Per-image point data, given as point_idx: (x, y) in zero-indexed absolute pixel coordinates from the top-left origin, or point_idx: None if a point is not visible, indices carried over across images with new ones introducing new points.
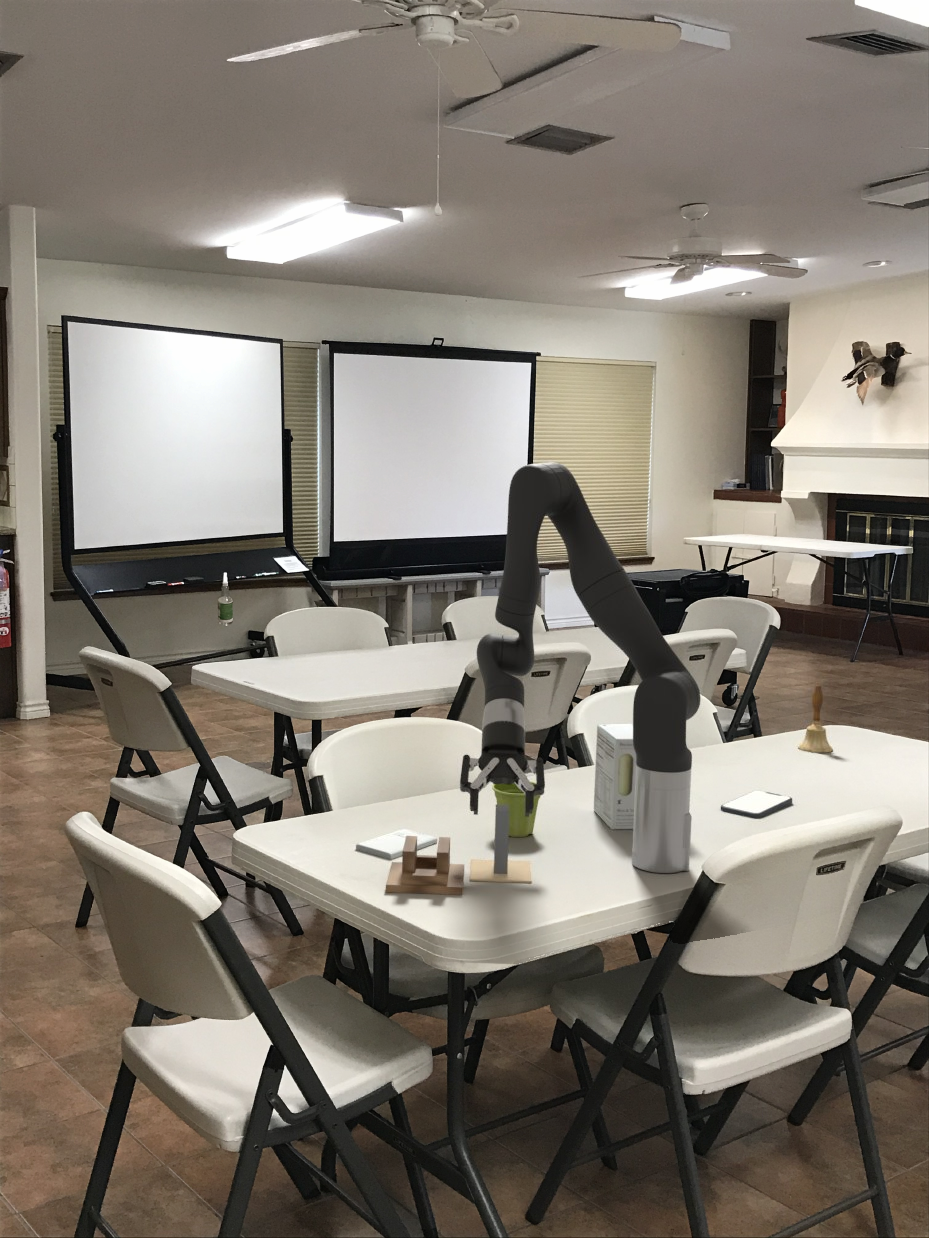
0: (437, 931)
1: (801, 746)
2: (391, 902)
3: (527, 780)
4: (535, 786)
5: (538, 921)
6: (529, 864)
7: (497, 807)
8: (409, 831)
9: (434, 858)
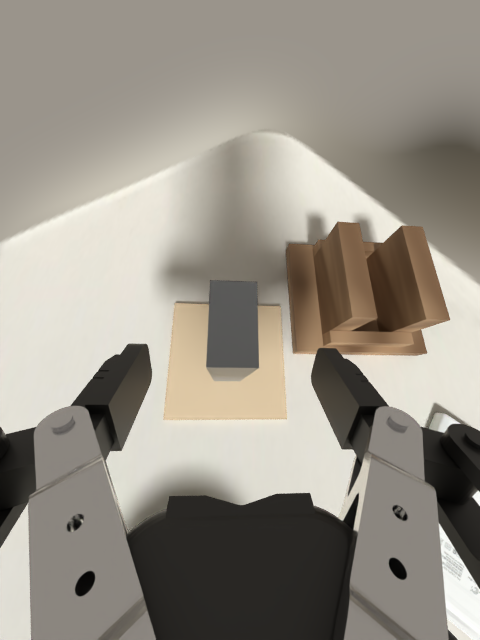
0: (302, 150)
1: None
2: (374, 223)
3: (48, 475)
4: (20, 455)
5: (183, 172)
6: (167, 396)
7: (251, 327)
8: (468, 625)
9: (357, 331)
